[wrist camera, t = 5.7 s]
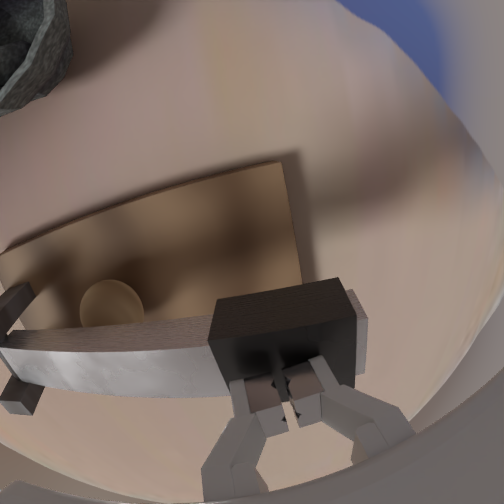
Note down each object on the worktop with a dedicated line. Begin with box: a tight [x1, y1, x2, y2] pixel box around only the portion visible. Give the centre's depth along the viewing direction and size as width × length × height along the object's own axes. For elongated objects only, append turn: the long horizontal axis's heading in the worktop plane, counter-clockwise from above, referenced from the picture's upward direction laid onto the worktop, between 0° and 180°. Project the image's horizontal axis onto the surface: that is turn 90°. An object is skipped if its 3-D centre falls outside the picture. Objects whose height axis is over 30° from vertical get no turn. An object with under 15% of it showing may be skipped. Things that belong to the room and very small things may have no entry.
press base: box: [0, 161, 302, 416], centre depth 15 cm, size 24×12×10 cm, turn 103°
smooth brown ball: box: [80, 280, 144, 327], centre depth 16 cm, size 4×4×4 cm
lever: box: [0, 277, 368, 402], centre depth 11 cm, size 21×4×3 cm, turn 102°
